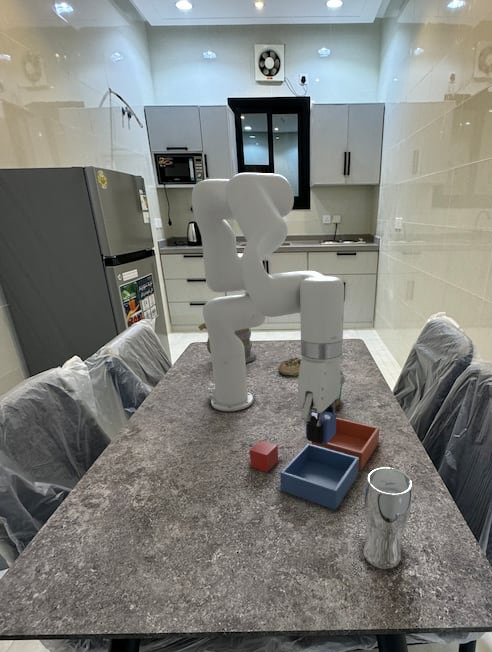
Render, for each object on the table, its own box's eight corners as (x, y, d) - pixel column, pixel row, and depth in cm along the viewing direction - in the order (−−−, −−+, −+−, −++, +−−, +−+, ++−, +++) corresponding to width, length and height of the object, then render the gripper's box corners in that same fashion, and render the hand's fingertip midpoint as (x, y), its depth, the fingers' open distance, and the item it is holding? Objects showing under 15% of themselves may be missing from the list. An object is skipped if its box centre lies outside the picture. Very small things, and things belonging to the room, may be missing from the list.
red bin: (311, 455, 90) (311, 439, 88) (332, 431, 99) (333, 416, 98) (361, 470, 84) (362, 453, 82) (378, 443, 94) (379, 427, 92)
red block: (250, 466, 86) (249, 449, 84) (261, 456, 90) (260, 440, 88) (267, 472, 84) (266, 455, 82) (278, 461, 88) (277, 445, 86)
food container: (341, 416, 107) (343, 383, 103) (320, 414, 108) (320, 381, 104) (345, 397, 118) (346, 367, 114) (325, 395, 119) (326, 365, 115)
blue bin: (280, 490, 78) (280, 472, 77) (307, 459, 88) (307, 443, 86) (335, 510, 73) (336, 491, 71) (358, 475, 83) (359, 457, 81)
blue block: (305, 438, 76) (305, 418, 74) (315, 428, 79) (316, 408, 77) (326, 444, 73) (327, 423, 72) (336, 433, 77) (336, 413, 75)
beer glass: (356, 539, 66) (361, 467, 60) (395, 536, 67) (404, 465, 61) (366, 573, 60) (373, 497, 54) (410, 570, 61) (421, 494, 54)
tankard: (254, 353, 157) (252, 317, 151) (253, 363, 146) (250, 325, 140) (205, 354, 156) (201, 318, 150) (200, 365, 145) (195, 327, 139)
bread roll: (290, 362, 146) (291, 350, 144) (314, 371, 141) (315, 359, 138) (271, 372, 138) (272, 359, 136) (296, 383, 133) (297, 370, 130)
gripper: (322, 333, 77) (322, 413, 85) (279, 358, 64) (283, 451, 71) (357, 338, 74) (354, 421, 81) (320, 365, 61) (319, 462, 68)
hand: (321, 434), depth 76 cm, fingers closed on blue block, 4 cm apart
